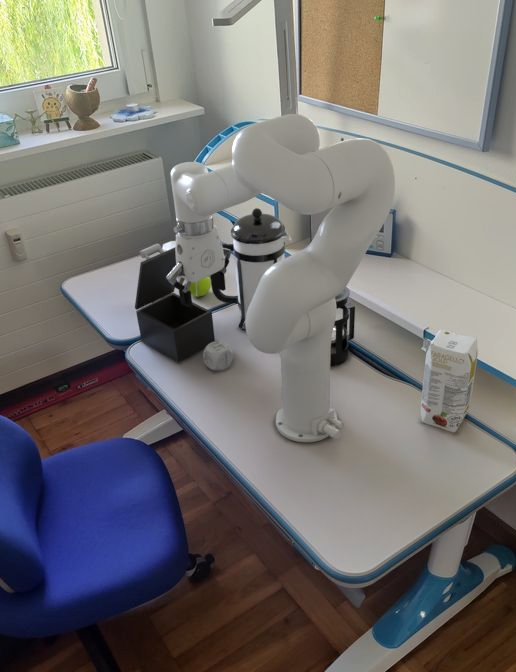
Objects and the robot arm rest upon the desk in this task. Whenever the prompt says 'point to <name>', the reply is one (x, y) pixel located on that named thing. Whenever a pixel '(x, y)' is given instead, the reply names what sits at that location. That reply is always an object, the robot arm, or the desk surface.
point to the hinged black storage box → (175, 327)
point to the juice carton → (448, 379)
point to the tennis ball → (200, 287)
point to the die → (217, 355)
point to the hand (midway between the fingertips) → (203, 296)
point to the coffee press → (253, 255)
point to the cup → (169, 245)
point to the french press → (342, 329)
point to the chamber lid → (154, 275)
